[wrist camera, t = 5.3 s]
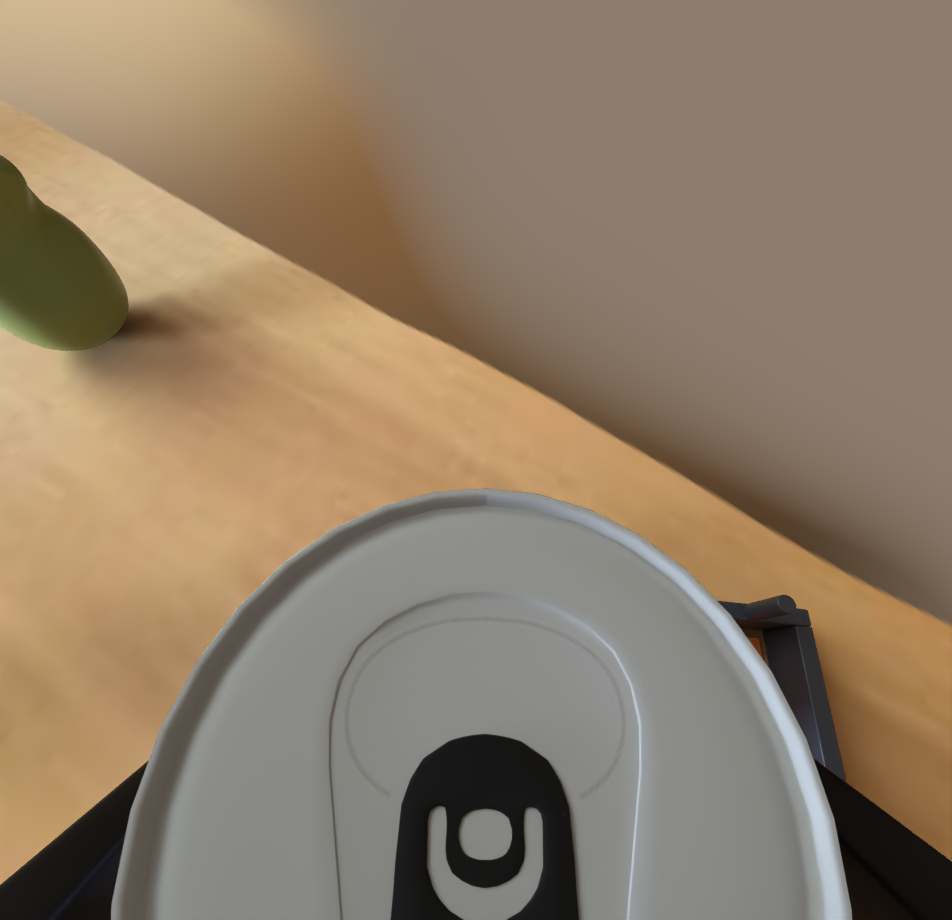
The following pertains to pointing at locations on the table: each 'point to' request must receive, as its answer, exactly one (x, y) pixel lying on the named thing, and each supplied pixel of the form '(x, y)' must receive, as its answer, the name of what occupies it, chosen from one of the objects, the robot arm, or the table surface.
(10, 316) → the green rounded upright piece
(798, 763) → the energy drink can
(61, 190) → the table surface
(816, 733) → the dark grey divided frame
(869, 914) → the robot arm
